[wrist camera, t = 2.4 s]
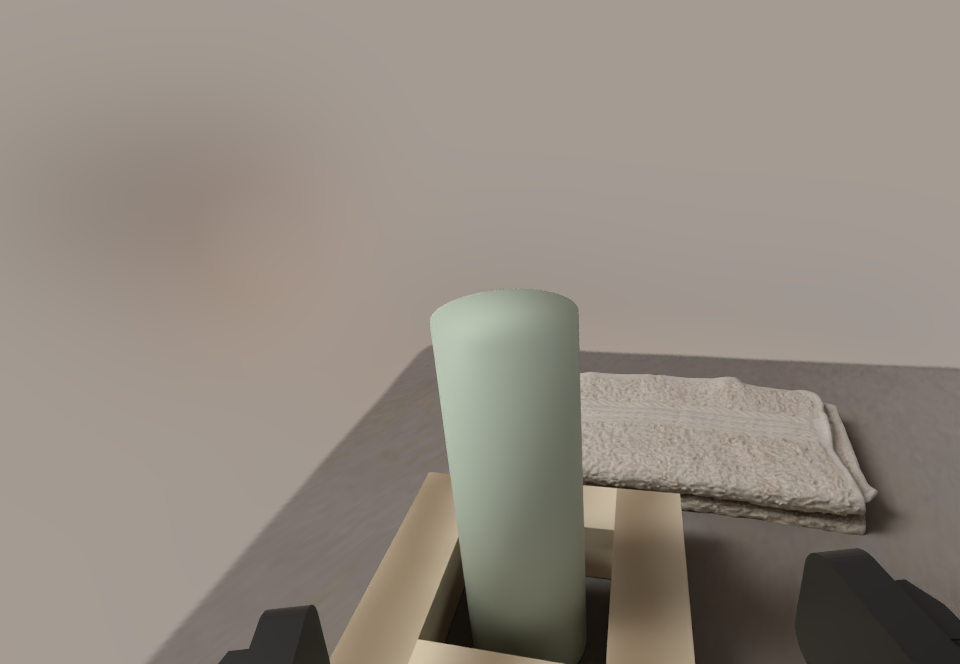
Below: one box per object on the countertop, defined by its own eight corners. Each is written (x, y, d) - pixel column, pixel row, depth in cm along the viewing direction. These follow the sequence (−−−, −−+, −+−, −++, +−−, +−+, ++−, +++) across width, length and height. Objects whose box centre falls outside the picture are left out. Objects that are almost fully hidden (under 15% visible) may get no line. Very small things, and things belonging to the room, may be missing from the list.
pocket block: (677, 541, 29) (679, 493, 28) (699, 842, 18) (705, 783, 17) (435, 515, 33) (429, 472, 32) (324, 754, 21) (307, 700, 20)
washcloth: (883, 548, 28) (894, 497, 27) (526, 502, 34) (523, 458, 33) (827, 420, 39) (834, 379, 38) (561, 401, 44) (560, 365, 43)
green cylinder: (591, 593, 27) (584, 288, 21) (581, 696, 22) (569, 345, 17) (487, 579, 28) (454, 289, 22) (458, 674, 24) (408, 342, 18)
